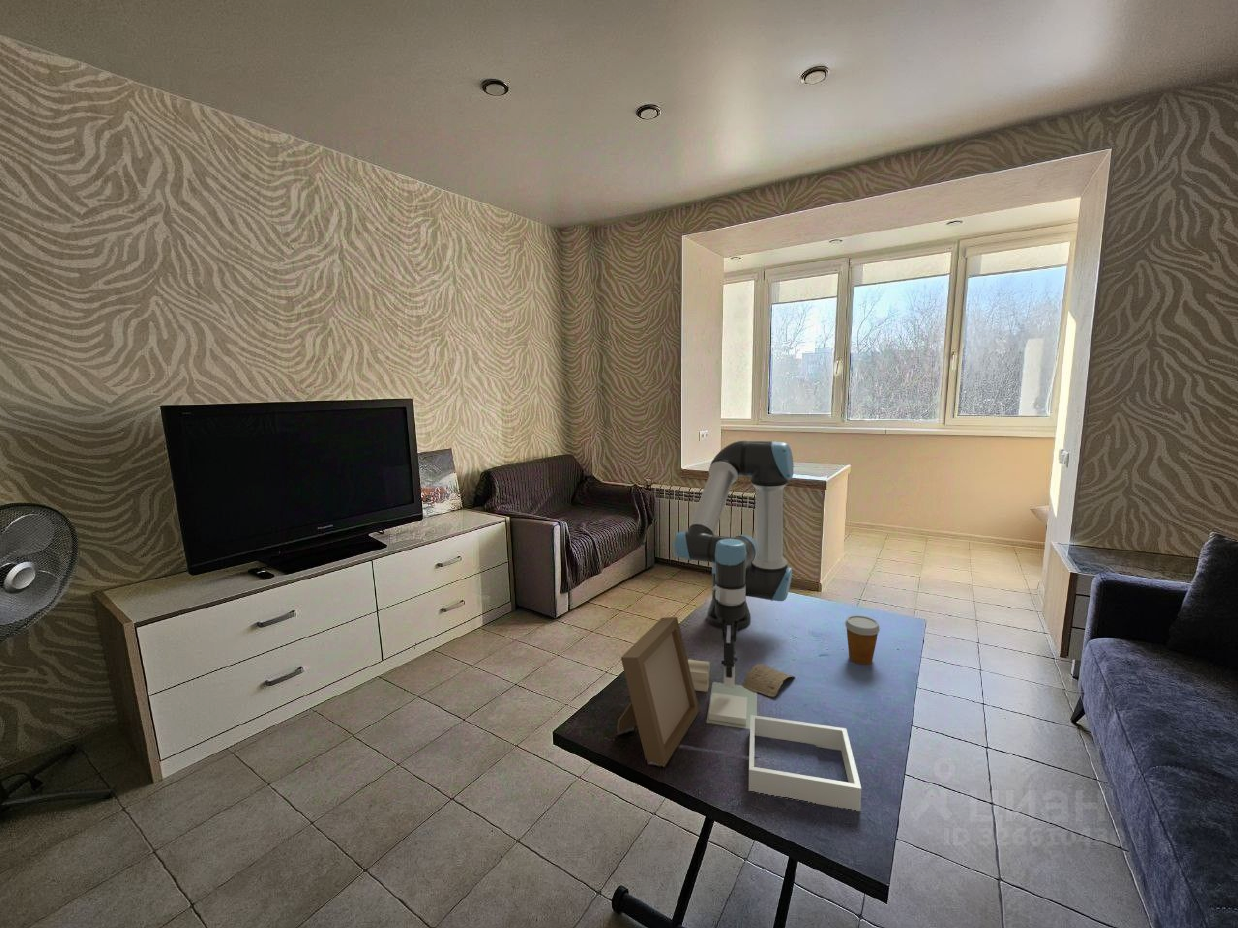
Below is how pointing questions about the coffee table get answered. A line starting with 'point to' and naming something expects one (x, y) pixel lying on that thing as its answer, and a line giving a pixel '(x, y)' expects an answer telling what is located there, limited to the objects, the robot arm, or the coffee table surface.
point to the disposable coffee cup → (861, 638)
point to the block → (700, 674)
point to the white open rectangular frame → (801, 784)
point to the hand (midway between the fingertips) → (729, 685)
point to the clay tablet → (764, 680)
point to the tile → (728, 708)
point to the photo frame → (659, 690)
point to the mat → (736, 691)
